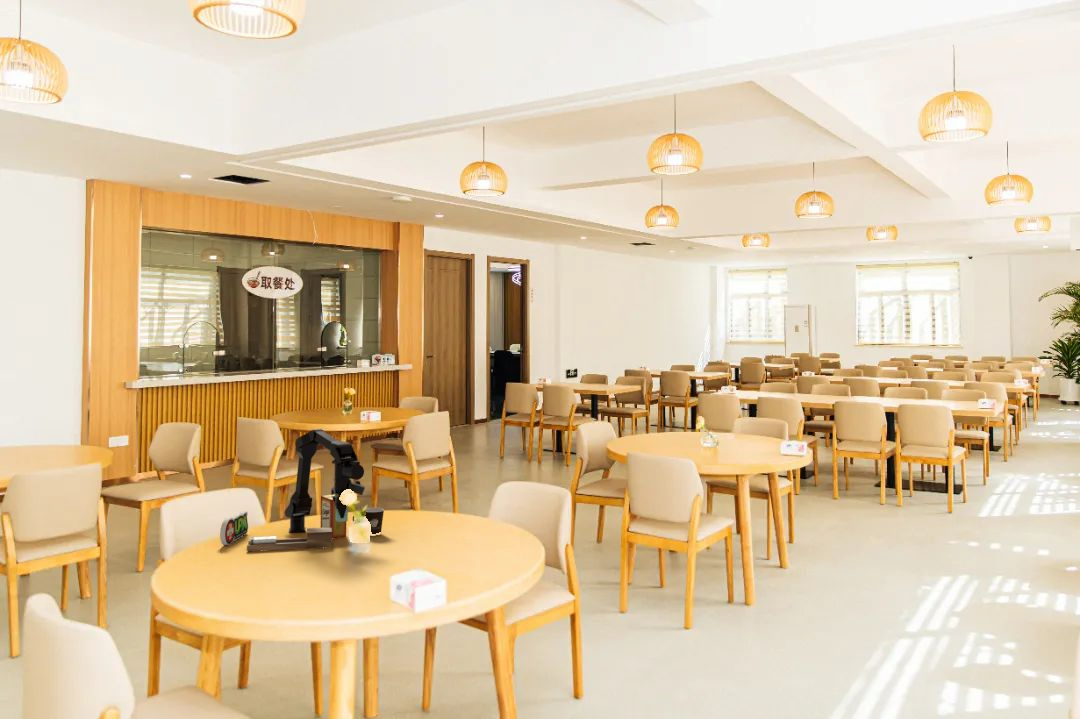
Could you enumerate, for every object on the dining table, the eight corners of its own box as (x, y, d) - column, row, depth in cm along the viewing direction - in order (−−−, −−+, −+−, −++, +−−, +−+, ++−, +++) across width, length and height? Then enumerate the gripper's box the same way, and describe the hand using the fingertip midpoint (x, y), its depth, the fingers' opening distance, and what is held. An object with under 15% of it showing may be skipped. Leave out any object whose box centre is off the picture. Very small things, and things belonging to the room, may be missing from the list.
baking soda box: (346, 536, 310) (346, 496, 310) (330, 539, 306) (331, 498, 306) (335, 532, 318) (336, 493, 317) (320, 534, 313) (320, 494, 313)
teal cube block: (335, 519, 298) (335, 509, 298) (346, 518, 300) (346, 508, 300) (336, 521, 295) (337, 511, 295) (347, 521, 296) (347, 510, 296)
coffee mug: (386, 532, 319) (386, 508, 318) (379, 537, 310) (380, 512, 310) (358, 531, 320) (358, 507, 320) (351, 536, 311) (351, 511, 311)
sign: (243, 533, 313) (244, 508, 313) (248, 533, 313) (248, 509, 313) (219, 548, 291) (220, 521, 291) (224, 548, 291) (224, 521, 291)
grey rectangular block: (251, 547, 291) (251, 537, 291) (276, 546, 294) (276, 535, 294) (250, 550, 287) (250, 539, 287) (275, 549, 290) (276, 538, 290)
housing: (248, 547, 292) (248, 531, 292) (331, 542, 301) (331, 527, 301) (246, 552, 285) (247, 535, 285) (331, 547, 294) (331, 531, 294)
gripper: (367, 479, 291) (366, 521, 292) (359, 471, 309) (359, 510, 309) (336, 481, 287) (336, 523, 287) (330, 472, 304) (330, 512, 305)
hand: (341, 517), depth 297 cm, fingers closed on teal cube block, 4 cm apart
